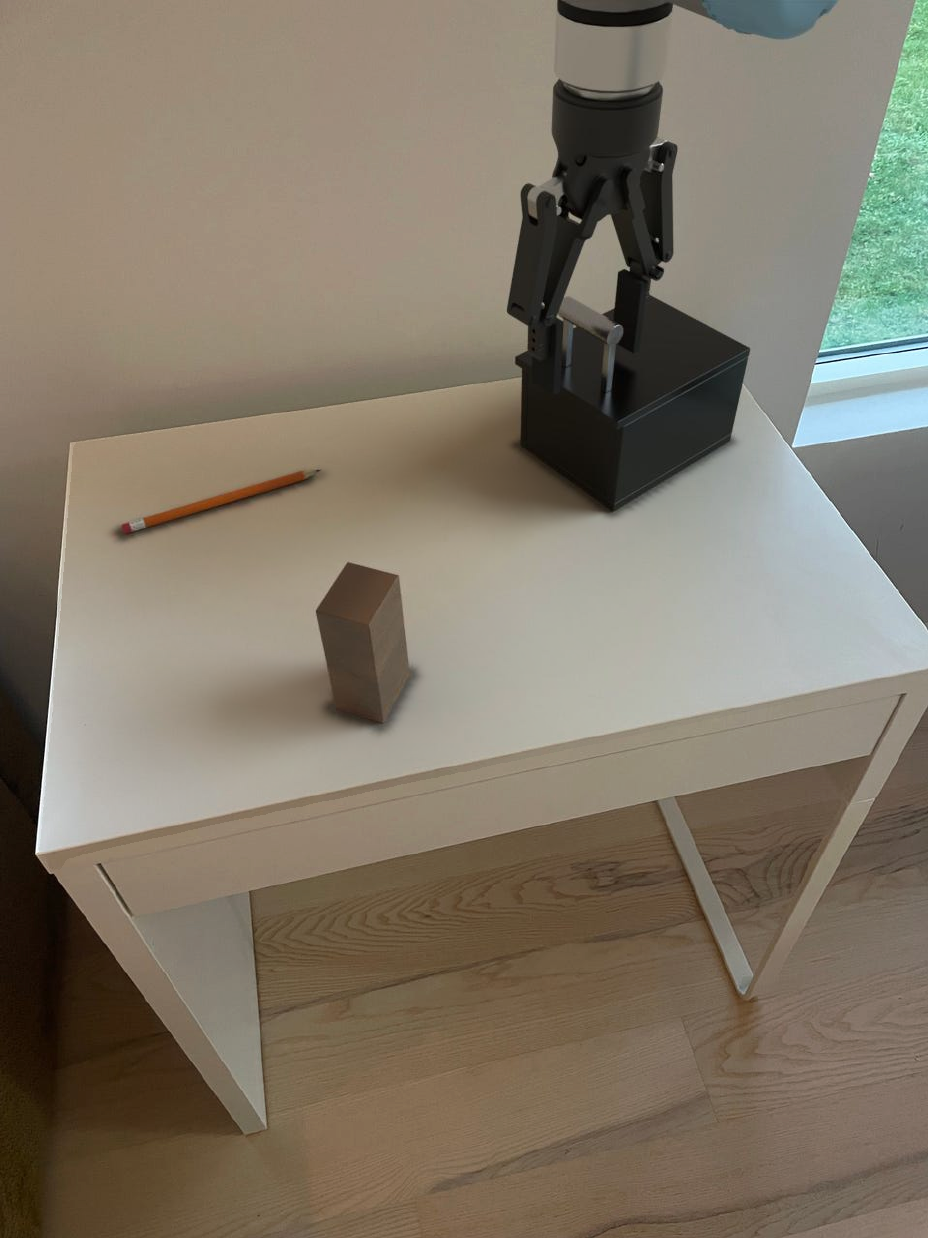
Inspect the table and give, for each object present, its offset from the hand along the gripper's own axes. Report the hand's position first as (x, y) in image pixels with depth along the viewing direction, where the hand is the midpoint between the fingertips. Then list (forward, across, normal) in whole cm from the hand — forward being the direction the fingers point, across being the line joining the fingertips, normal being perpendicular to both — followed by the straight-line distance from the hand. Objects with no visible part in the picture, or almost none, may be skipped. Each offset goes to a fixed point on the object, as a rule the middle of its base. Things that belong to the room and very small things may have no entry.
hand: (586, 365), depth 83 cm
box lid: (+2, -6, 0) cm, 6 cm away
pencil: (+11, +28, -18) cm, 35 cm away
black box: (+11, -6, 0) cm, 13 cm away
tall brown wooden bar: (+11, +30, +9) cm, 33 cm away
